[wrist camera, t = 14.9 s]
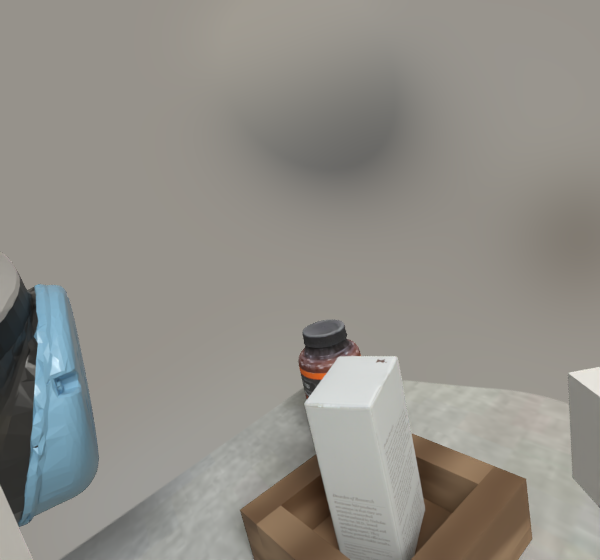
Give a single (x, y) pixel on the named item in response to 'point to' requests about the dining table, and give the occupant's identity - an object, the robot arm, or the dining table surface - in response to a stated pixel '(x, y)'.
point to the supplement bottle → (323, 351)
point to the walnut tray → (436, 521)
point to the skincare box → (367, 458)
